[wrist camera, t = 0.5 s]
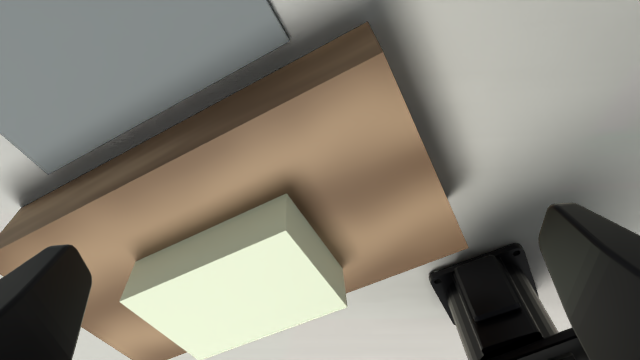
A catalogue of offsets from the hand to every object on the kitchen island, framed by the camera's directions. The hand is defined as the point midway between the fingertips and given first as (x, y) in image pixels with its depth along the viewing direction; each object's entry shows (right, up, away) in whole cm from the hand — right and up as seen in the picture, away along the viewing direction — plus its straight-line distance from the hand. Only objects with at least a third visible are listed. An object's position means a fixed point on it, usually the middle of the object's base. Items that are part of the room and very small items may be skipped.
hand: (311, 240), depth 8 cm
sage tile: (-4, -3, +14) cm, 15 cm away
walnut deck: (-5, 0, +17) cm, 17 cm away
